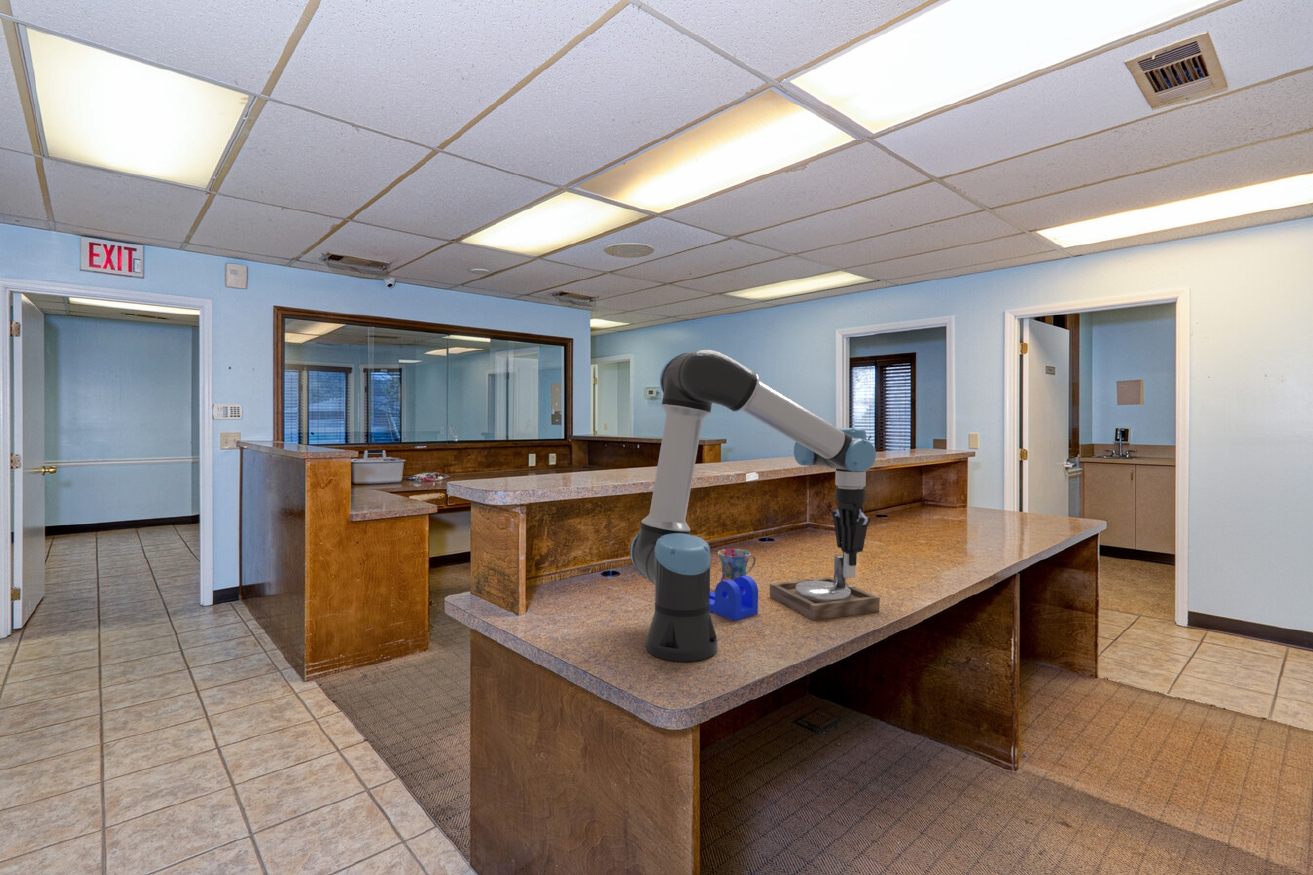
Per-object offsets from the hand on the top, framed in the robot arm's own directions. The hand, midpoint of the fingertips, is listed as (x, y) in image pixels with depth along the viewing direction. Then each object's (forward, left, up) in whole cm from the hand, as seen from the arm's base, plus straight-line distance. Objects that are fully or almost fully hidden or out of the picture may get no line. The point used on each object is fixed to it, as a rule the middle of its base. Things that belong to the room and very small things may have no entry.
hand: (849, 577), depth 159 cm
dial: (-6, +4, -5) cm, 9 cm away
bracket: (-33, +9, -8) cm, 35 cm away
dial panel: (-6, +4, -8) cm, 10 cm away
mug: (-21, +23, -8) cm, 32 cm away
